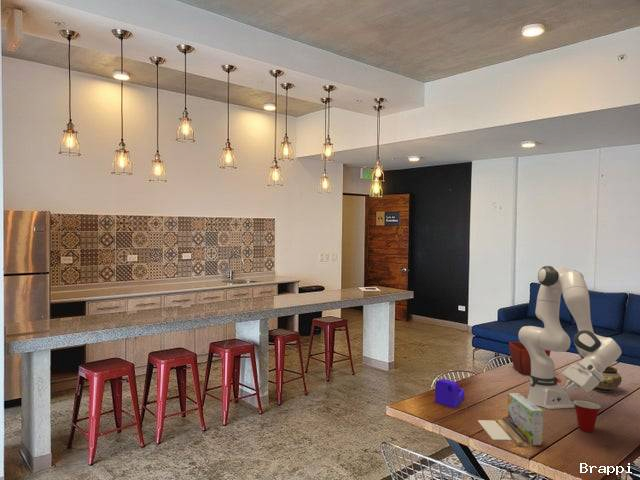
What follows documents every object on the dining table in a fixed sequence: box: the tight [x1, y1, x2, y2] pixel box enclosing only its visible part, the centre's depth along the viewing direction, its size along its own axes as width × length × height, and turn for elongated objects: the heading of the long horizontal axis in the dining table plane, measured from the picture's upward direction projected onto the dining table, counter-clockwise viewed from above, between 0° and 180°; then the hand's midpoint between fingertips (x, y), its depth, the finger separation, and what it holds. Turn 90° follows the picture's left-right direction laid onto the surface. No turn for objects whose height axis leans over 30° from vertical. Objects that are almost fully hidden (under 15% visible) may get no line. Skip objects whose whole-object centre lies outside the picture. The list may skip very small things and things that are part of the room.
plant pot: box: [508, 341, 552, 376], centre depth 303 cm, size 19×19×17 cm
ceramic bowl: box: [594, 365, 623, 393], centre depth 272 cm, size 24×18×15 cm
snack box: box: [507, 392, 544, 447], centre depth 210 cm, size 21×6×15 cm, turn 5°
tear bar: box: [497, 416, 528, 447], centre depth 210 cm, size 4×23×3 cm, turn 0°
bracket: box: [434, 378, 466, 409], centre depth 250 cm, size 18×11×12 cm, turn 134°
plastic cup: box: [572, 400, 602, 433], centre depth 217 cm, size 11×11×12 cm
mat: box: [477, 419, 513, 441], centre depth 214 cm, size 8×20×1 cm, turn 0°
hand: (565, 389), depth 210 cm, fingers closed
